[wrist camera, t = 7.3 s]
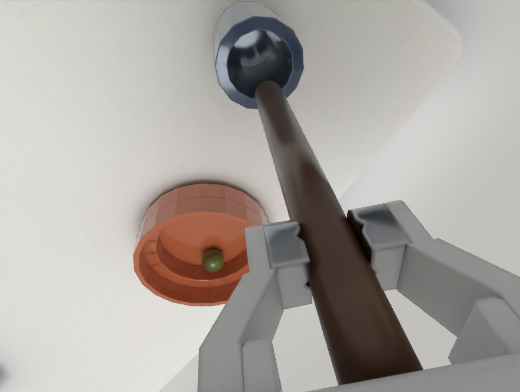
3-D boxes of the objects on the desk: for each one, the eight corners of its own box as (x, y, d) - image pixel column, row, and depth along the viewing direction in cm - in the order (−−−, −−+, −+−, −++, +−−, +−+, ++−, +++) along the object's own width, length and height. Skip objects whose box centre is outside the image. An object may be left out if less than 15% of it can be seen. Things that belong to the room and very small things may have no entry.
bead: (221, 243, 43) (221, 259, 40) (225, 257, 44) (226, 274, 42) (199, 247, 43) (198, 264, 40) (204, 261, 44) (204, 278, 42)
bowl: (258, 168, 37) (265, 199, 32) (273, 259, 47) (280, 293, 42) (122, 193, 37) (109, 228, 32) (165, 279, 47) (160, 315, 42)
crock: (277, -6, 27) (301, 7, 20) (283, 68, 31) (305, 102, 24) (207, 6, 27) (206, 24, 20) (222, 79, 31) (225, 116, 23)
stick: (278, 74, 18) (666, 786, 3) (281, 101, 19) (576, 737, 4) (251, 79, 18) (480, 826, 3) (255, 105, 19) (439, 765, 4)
